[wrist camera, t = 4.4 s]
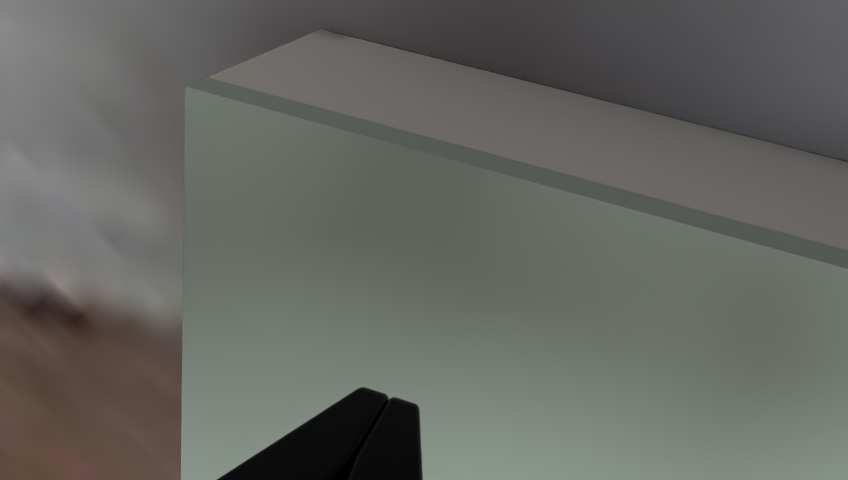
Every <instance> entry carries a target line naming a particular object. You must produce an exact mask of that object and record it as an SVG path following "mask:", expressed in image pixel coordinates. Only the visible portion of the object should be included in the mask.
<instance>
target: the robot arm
mask: <svg viewBox="0 0 848 480" xmlns="http://www.w3.org/2000/svg"><path fill="white" fill-rule="evenodd" d="M217 480H423V472H422V451H421V429H420V410H419V406H418V405H417V404H415V403H412V402H409V401H406V400H403V399H400V398H397V397H392V398H390V399H389V397H388V396H387V394H385V393H382V392H378V391H375V390H372V389H369V388H366V387H361V388H358V389H356V390H355V391H353V392H352V393H350V394H348V395H347V396H345V397H344V398H342V399H341V400H339V401H338V402H336V403H335V404H333V405H331V406H330V407H328V408H327V409H325V410H324V411H322V412H321V413H319V414H317V415H316V416H314V417H313V418H311V419H310V420H308V421H307V422H305V423H304V424H302V425H300V426H299V427H297V428H296V429H294V430H293V431H291V432H290V433H288V434H287V435H285V436H283V437H282V438H280V439H279V440H277V441H276V442H274V443H273V444H271V445H269V446H268V447H266V448H265V449H263V450H262V451H260V452H259V453H257V454H256V455H254V456H252V457H251V458H249V459H248V460H246V461H245V462H243V463H242V464H240V465H238V466H237V467H235V468H234V469H232V470H231V471H229V472H228V473H226V474H225V475H223V476H221V477H220V478H218V479H217Z"/></svg>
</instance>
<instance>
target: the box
mask: <svg viewBox="0 0 848 480" xmlns="http://www.w3.org/2000/svg"><path fill="white" fill-rule="evenodd" d="M208 78H212V79H215V80H219V81H223V82H226V83H230V84H234V85H237V86H241V87H245V88H248V89H252V90H256V91H259V92H263V93H267V94H270V95H274V96H278V97H281V98H285V99H289V100H293V101H296V102H300V103H304V104H307V105H311V106H315V107H318V108H322V109H326V110H329V111H333V112H337V113H340V114H344V115H348V116H351V117H355V118H359V119H362V120H366V121H370V122H373V123H377V124H381V125H385V126H388V127H392V128H396V129H399V130H403V131H407V132H410V133H414V134H418V135H421V136H425V137H429V138H432V139H436V140H440V141H443V142H447V143H451V144H454V145H458V146H462V147H465V148H469V149H473V150H477V151H480V152H484V153H488V154H491V155H495V156H499V157H502V158H506V159H510V160H513V161H517V162H521V163H524V164H528V165H532V166H535V167H539V168H543V169H546V170H550V171H554V172H557V173H561V174H565V175H569V176H572V177H576V178H580V179H583V180H587V181H591V182H594V183H598V184H602V185H605V186H609V187H613V188H616V189H620V190H624V191H627V192H631V193H635V194H638V195H642V196H646V197H649V198H653V199H657V200H661V201H664V202H668V203H672V204H675V205H679V206H683V207H686V208H690V209H694V210H697V211H701V212H705V213H708V214H712V215H716V216H719V217H723V218H727V219H730V220H734V221H738V222H741V223H745V224H749V225H753V226H756V227H760V228H764V229H767V230H771V231H775V232H778V233H782V234H786V235H789V236H793V237H797V238H800V239H804V240H808V241H811V242H815V243H819V244H822V245H826V246H830V247H833V248H837V249H841V250H845V251H848V162H846V161H842V160H838V159H834V158H830V157H826V156H822V155H818V154H814V153H810V152H806V151H802V150H798V149H794V148H790V147H786V146H782V145H778V144H774V143H770V142H766V141H762V140H758V139H754V138H750V137H746V136H742V135H738V134H734V133H731V132H727V131H723V130H719V129H715V128H711V127H707V126H703V125H699V124H695V123H691V122H687V121H683V120H679V119H675V118H671V117H667V116H663V115H659V114H655V113H651V112H647V111H643V110H639V109H635V108H631V107H627V106H623V105H619V104H615V103H611V102H607V101H603V100H599V99H596V98H592V97H588V96H584V95H580V94H576V93H572V92H568V91H564V90H560V89H556V88H552V87H548V86H544V85H540V84H536V83H532V82H528V81H524V80H520V79H516V78H512V77H508V76H504V75H500V74H496V73H492V72H488V71H484V70H480V69H476V68H472V67H468V66H464V65H461V64H457V63H453V62H449V61H445V60H441V59H437V58H433V57H429V56H425V55H421V54H417V53H413V52H409V51H405V50H401V49H397V48H393V47H389V46H385V45H381V44H377V43H373V42H369V41H365V40H361V39H357V38H353V37H349V36H345V35H341V34H337V33H333V32H329V31H326V30H322V29H320V30H318V31H315V32H313V33H311V34H308V35H306V36H304V37H301V38H299V39H296V40H294V41H292V42H289V43H287V44H285V45H282V46H280V47H278V48H275V49H273V50H270V51H268V52H266V53H263V54H261V55H259V56H256V57H254V58H252V59H249V60H247V61H244V62H242V63H240V64H237V65H235V66H233V67H230V68H228V69H226V70H223V71H221V72H218V73H216V74H214V75H211V76H209V77H208Z"/></svg>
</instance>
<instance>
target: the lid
mask: <svg viewBox="0 0 848 480" xmlns="http://www.w3.org/2000/svg"><path fill="white" fill-rule="evenodd" d="M361 387H366V388H369V389H372V390H375V391H378V392H382V393H385V394H387V396H388V397H389V399H390V398H392V397H397V398H400V399H403V400H406V401H409V402H412V403H415V404H417V405H418V406H419V410H420V429H421V451H422V472H423V480H848V251H845V250H841V249H837V248H833V247H830V246H826V245H822V244H819V243H815V242H811V241H808V240H804V239H800V238H797V237H793V236H789V235H786V234H782V233H778V232H775V231H771V230H767V229H764V228H760V227H756V226H753V225H749V224H745V223H741V222H738V221H734V220H730V219H727V218H723V217H719V216H716V215H712V214H708V213H705V212H701V211H697V210H694V209H690V208H686V207H683V206H679V205H675V204H672V203H668V202H664V201H661V200H657V199H653V198H649V197H646V196H642V195H638V194H635V193H631V192H627V191H624V190H620V189H616V188H613V187H609V186H605V185H602V184H598V183H594V182H591V181H587V180H583V179H580V178H576V177H572V176H569V175H565V174H561V173H557V172H554V171H550V170H546V169H543V168H539V167H535V166H532V165H528V164H524V163H521V162H517V161H513V160H510V159H506V158H502V157H499V156H495V155H491V154H488V153H484V152H480V151H477V150H473V149H469V148H465V147H462V146H458V145H454V144H451V143H447V142H443V141H440V140H436V139H432V138H429V137H425V136H421V135H418V134H414V133H410V132H407V131H403V130H399V129H396V128H392V127H388V126H385V125H381V124H377V123H373V122H370V121H366V120H362V119H359V118H355V117H351V116H348V115H344V114H340V113H337V112H333V111H329V110H326V109H322V108H318V107H315V106H311V105H307V104H304V103H300V102H296V101H293V100H289V99H285V98H281V97H278V96H274V95H270V94H267V93H263V92H259V91H256V90H252V89H248V88H245V87H241V86H237V85H234V84H230V83H226V82H223V81H219V80H215V79H212V78H208V77H207V78H204V79H202V80H199V81H197V82H195V83H192V84H190V85H187V86H185V139H184V236H183V333H182V430H181V480H217V479H218V478H220V477H221V476H223V475H225V474H226V473H228V472H229V471H231V470H232V469H234V468H235V467H237V466H238V465H240V464H242V463H243V462H245V461H246V460H248V459H249V458H251V457H252V456H254V455H256V454H257V453H259V452H260V451H262V450H263V449H265V448H266V447H268V446H269V445H271V444H273V443H274V442H276V441H277V440H279V439H280V438H282V437H283V436H285V435H287V434H288V433H290V432H291V431H293V430H294V429H296V428H297V427H299V426H300V425H302V424H304V423H305V422H307V421H308V420H310V419H311V418H313V417H314V416H316V415H317V414H319V413H321V412H322V411H324V410H325V409H327V408H328V407H330V406H331V405H333V404H335V403H336V402H338V401H339V400H341V399H342V398H344V397H345V396H347V395H348V394H350V393H352V392H353V391H355V390H356V389H358V388H361Z"/></svg>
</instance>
